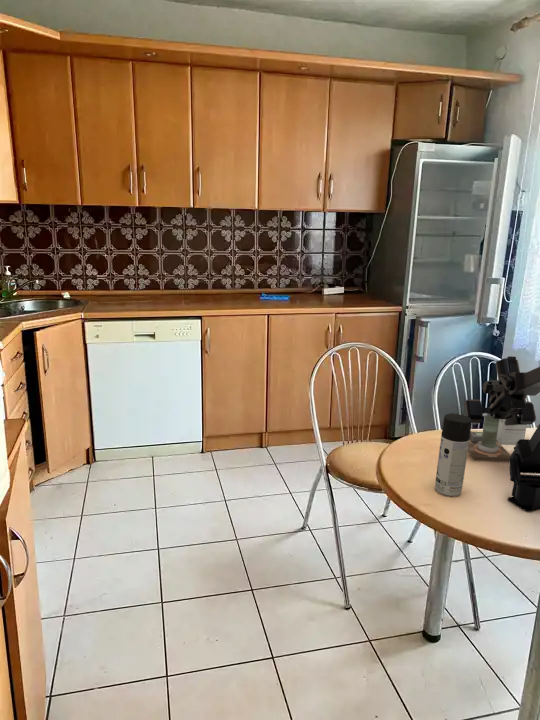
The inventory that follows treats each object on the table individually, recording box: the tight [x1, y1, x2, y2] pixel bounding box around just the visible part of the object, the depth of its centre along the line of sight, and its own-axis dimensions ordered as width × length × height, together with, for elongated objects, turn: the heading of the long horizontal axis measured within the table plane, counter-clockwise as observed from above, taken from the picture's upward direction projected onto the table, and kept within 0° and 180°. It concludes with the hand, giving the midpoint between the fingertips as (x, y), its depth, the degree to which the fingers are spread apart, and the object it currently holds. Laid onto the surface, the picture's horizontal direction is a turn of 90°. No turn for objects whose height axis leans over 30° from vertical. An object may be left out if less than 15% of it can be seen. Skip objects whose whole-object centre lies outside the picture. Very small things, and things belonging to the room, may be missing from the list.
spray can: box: [434, 413, 473, 498], centre depth 139 cm, size 7×7×20 cm
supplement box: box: [497, 419, 528, 446], centre depth 173 cm, size 7×7×13 cm
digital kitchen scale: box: [467, 430, 511, 463], centre depth 166 cm, size 14×11×4 cm
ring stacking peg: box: [477, 413, 499, 454], centre depth 162 cm, size 6×6×14 cm
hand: (489, 423), depth 163 cm, fingers open, 9 cm apart
